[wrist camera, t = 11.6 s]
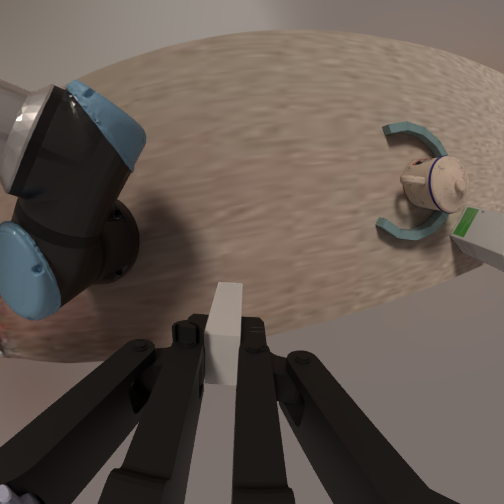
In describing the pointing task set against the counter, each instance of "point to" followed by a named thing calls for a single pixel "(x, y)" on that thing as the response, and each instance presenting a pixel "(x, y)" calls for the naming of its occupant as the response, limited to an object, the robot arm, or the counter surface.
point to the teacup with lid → (437, 184)
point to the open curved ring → (438, 216)
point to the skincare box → (481, 235)
